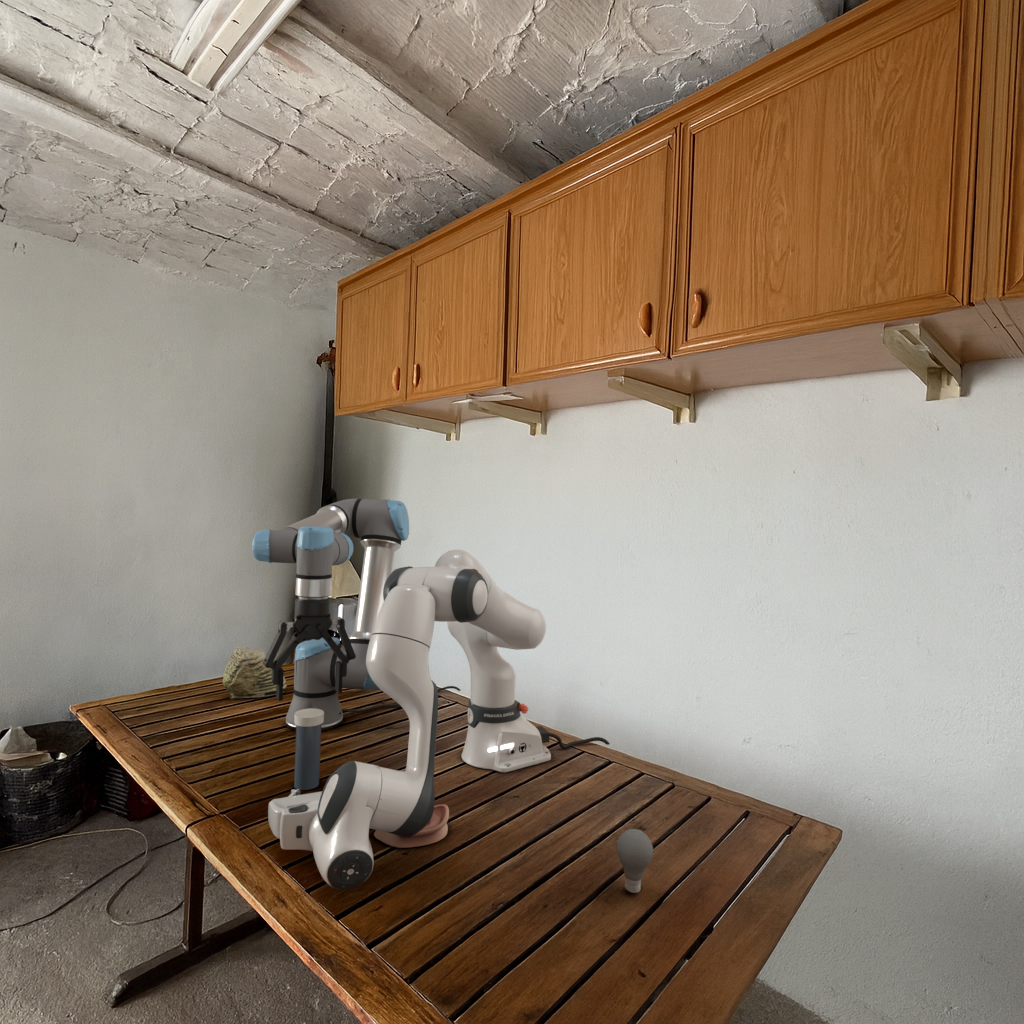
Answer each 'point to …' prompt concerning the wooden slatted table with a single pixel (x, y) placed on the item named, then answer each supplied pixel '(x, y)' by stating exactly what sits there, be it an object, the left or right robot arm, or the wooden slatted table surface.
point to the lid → (309, 717)
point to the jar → (307, 757)
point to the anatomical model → (424, 837)
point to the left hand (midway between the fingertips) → (309, 695)
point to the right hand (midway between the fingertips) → (320, 788)
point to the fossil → (249, 674)
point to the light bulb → (634, 857)
